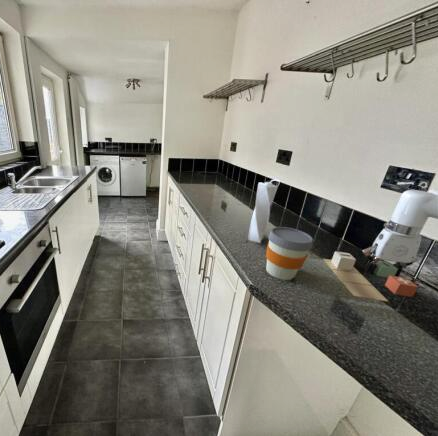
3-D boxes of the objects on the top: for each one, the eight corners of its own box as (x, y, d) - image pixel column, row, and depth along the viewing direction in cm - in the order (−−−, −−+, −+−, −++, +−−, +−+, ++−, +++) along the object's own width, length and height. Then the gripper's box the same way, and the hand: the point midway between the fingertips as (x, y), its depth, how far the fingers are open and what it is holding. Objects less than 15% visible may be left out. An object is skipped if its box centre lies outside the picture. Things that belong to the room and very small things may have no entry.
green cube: (383, 272, 84) (388, 261, 82) (392, 280, 80) (398, 268, 78) (368, 270, 85) (373, 259, 83) (376, 277, 81) (382, 266, 79)
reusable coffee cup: (268, 258, 90) (278, 223, 84) (305, 273, 82) (318, 235, 76) (254, 270, 82) (264, 233, 77) (293, 288, 74) (307, 247, 68)
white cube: (344, 263, 87) (349, 253, 85) (351, 270, 83) (356, 259, 81) (330, 261, 88) (335, 251, 86) (336, 268, 84) (341, 257, 82)
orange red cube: (400, 289, 75) (406, 277, 73) (411, 298, 71) (418, 286, 69) (383, 286, 76) (389, 275, 74) (393, 296, 72) (400, 283, 70)
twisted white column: (266, 239, 106) (281, 178, 96) (263, 245, 100) (279, 182, 90) (248, 234, 110) (261, 176, 100) (244, 240, 104) (258, 179, 94)
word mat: (348, 264, 89) (349, 262, 88) (387, 303, 69) (389, 301, 68) (321, 260, 90) (322, 258, 90) (352, 297, 71) (353, 295, 70)
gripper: (379, 229, 74) (358, 275, 81) (447, 237, 70) (419, 284, 77) (365, 220, 81) (347, 264, 87) (426, 227, 77) (402, 272, 84)
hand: (380, 273), depth 82 cm, fingers open, 6 cm apart
